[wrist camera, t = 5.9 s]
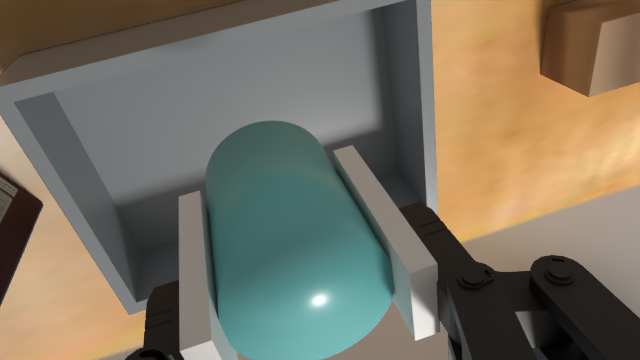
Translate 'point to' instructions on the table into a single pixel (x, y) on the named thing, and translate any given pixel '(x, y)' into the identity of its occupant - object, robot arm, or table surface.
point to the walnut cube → (593, 45)
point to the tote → (217, 113)
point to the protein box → (14, 228)
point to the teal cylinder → (290, 248)
